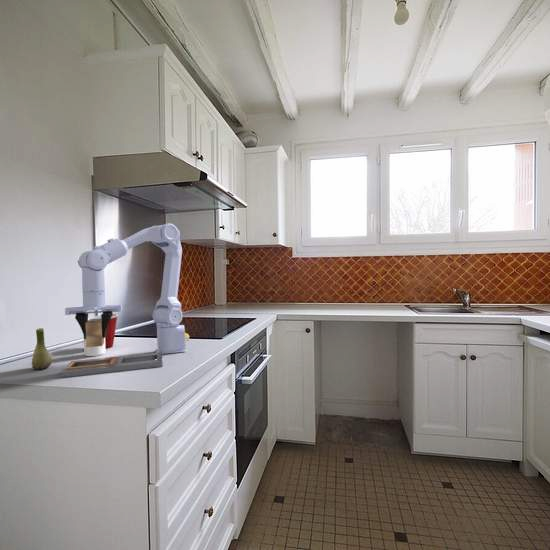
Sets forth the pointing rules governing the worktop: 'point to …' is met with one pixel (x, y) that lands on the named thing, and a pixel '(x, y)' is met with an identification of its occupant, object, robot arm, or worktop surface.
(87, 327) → the oak peg
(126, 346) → the worktop surface
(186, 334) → the bread roll
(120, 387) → the worktop surface
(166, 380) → the worktop surface
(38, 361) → the fennel bulb
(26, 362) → the worktop surface
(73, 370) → the rail plate
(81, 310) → the robot arm
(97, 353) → the can
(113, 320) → the plastic cup
